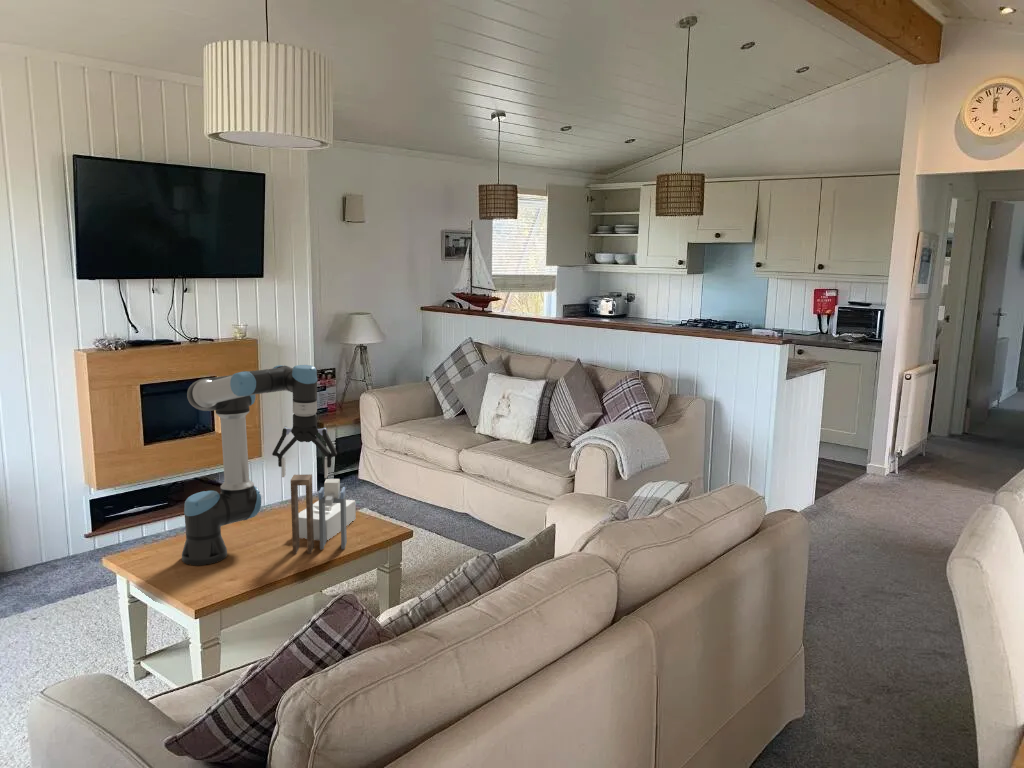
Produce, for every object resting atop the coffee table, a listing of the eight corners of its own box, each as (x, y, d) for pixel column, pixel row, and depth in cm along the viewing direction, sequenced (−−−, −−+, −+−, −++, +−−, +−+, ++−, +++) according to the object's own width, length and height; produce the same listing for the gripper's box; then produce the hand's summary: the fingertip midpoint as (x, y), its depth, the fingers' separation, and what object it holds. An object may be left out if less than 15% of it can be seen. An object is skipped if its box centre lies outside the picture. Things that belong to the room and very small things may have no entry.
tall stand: (292, 553, 282) (290, 480, 277) (296, 546, 289) (293, 474, 284) (311, 553, 282) (308, 479, 278) (313, 546, 289) (311, 474, 285)
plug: (321, 505, 276) (320, 489, 275) (326, 494, 289) (326, 478, 288) (335, 505, 276) (335, 489, 275) (339, 494, 289) (339, 478, 288)
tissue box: (293, 538, 298) (292, 511, 297) (324, 517, 322) (323, 492, 321) (327, 541, 295) (326, 514, 293) (355, 520, 319) (355, 495, 317)
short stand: (320, 549, 286) (318, 492, 283) (322, 542, 293) (321, 487, 289) (344, 549, 287) (343, 492, 283) (346, 542, 294) (345, 486, 290)
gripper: (262, 415, 242) (263, 479, 246) (343, 417, 245) (342, 480, 250) (267, 409, 249) (267, 471, 254) (345, 411, 252) (344, 473, 257)
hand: (305, 476), depth 252 cm, fingers open, 13 cm apart
